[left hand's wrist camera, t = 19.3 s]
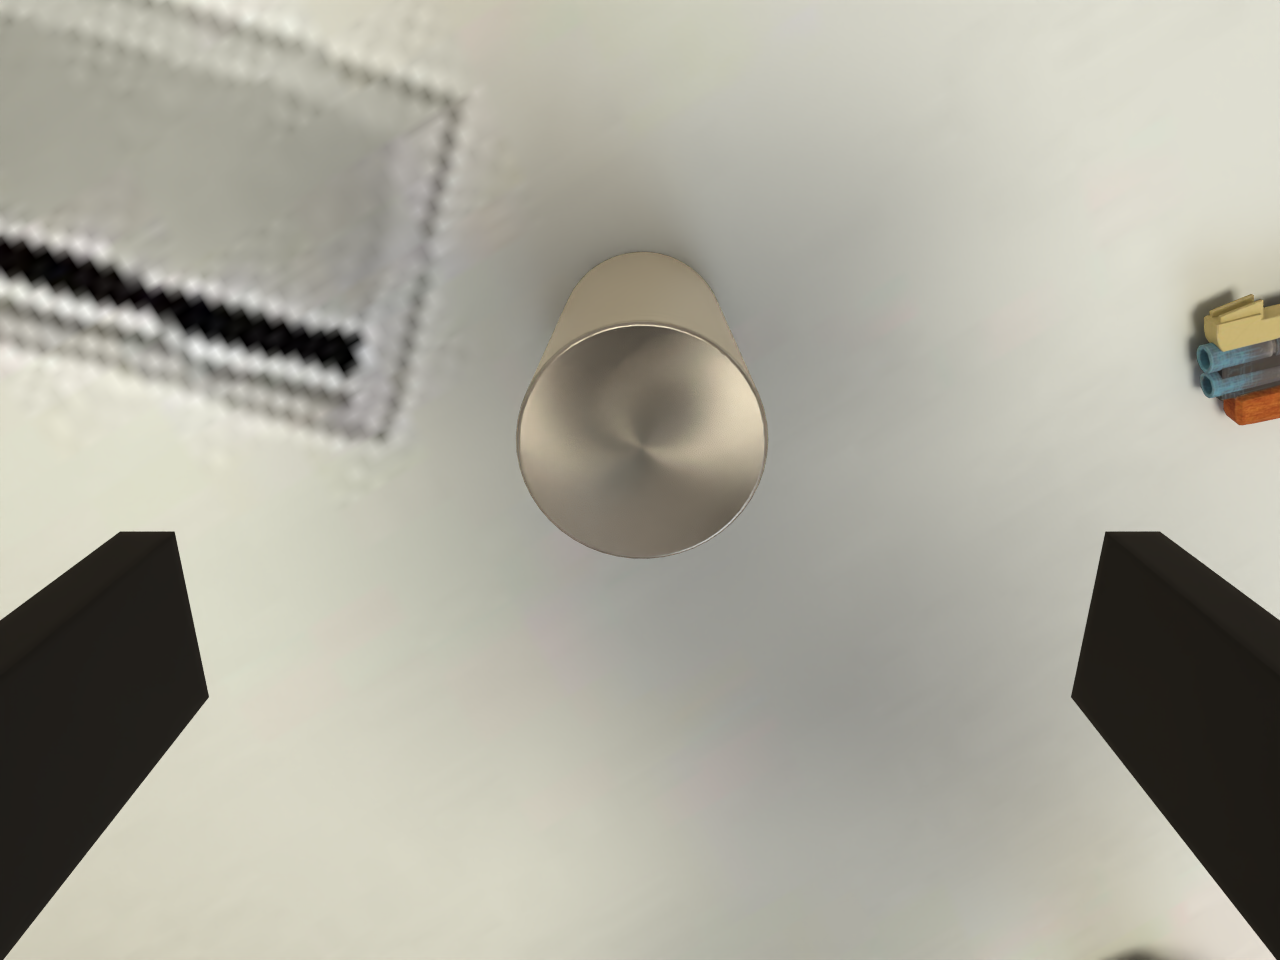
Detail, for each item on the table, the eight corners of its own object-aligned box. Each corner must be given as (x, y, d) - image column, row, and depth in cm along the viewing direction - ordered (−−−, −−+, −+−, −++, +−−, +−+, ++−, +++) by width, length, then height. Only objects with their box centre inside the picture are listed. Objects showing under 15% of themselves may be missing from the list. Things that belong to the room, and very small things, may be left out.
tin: (742, 385, 30) (796, 521, 20) (592, 431, 31) (566, 587, 20) (696, 228, 28) (729, 285, 18) (537, 281, 29) (476, 367, 18)
